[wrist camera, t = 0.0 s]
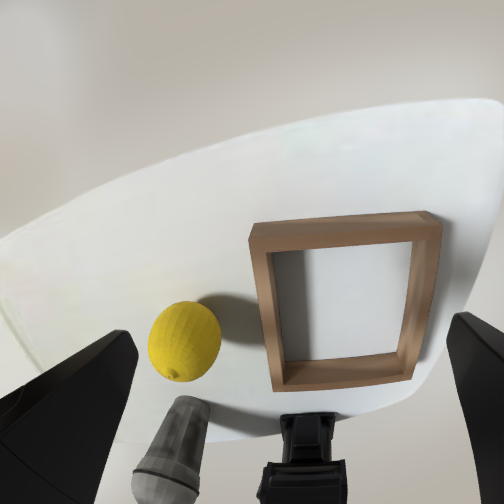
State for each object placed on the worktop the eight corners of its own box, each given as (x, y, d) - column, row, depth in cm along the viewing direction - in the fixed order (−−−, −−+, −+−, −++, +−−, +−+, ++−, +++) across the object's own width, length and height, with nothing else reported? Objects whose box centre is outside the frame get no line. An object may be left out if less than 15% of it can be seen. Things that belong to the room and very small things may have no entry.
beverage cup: (153, 393, 33) (94, 527, 15) (195, 383, 30) (138, 545, 13) (189, 424, 35) (148, 549, 17) (232, 417, 33) (197, 563, 15)
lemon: (185, 337, 27) (156, 400, 20) (159, 289, 25) (118, 350, 18) (238, 330, 26) (219, 400, 19) (216, 278, 24) (185, 344, 17)
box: (404, 357, 25) (411, 379, 23) (275, 368, 28) (273, 392, 25) (425, 210, 19) (442, 224, 17) (254, 223, 22) (248, 239, 19)
